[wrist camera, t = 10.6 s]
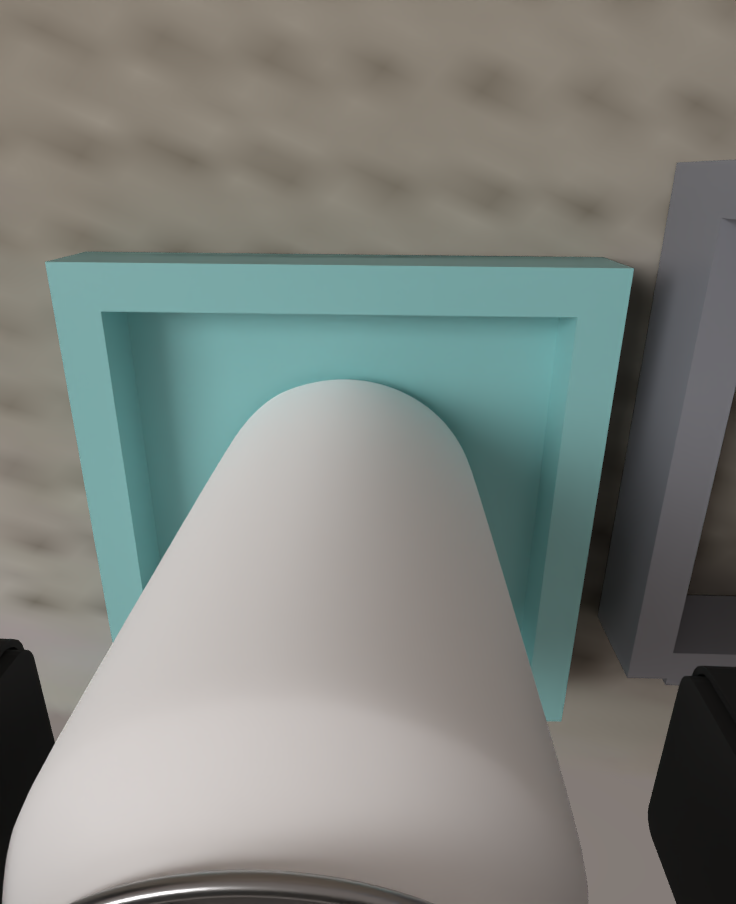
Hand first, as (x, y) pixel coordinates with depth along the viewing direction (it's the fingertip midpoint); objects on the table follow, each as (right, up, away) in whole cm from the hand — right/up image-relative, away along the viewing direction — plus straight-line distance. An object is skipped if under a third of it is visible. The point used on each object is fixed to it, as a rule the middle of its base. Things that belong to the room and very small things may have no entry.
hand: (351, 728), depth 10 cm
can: (0, +3, +8) cm, 8 cm away
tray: (0, +3, +8) cm, 9 cm away
